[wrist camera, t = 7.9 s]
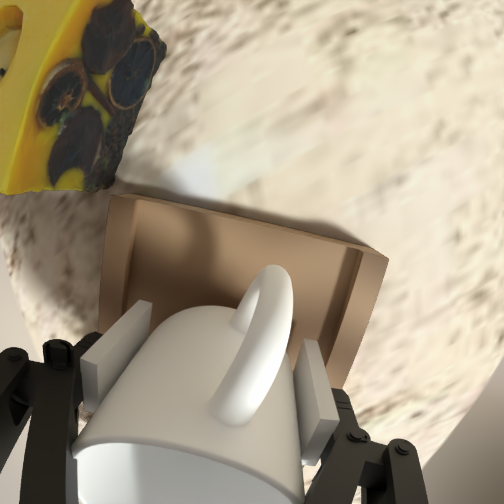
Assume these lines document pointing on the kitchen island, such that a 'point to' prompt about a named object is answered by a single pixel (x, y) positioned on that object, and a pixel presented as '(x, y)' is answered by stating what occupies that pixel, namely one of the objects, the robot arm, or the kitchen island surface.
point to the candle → (70, 90)
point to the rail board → (236, 272)
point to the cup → (202, 410)
